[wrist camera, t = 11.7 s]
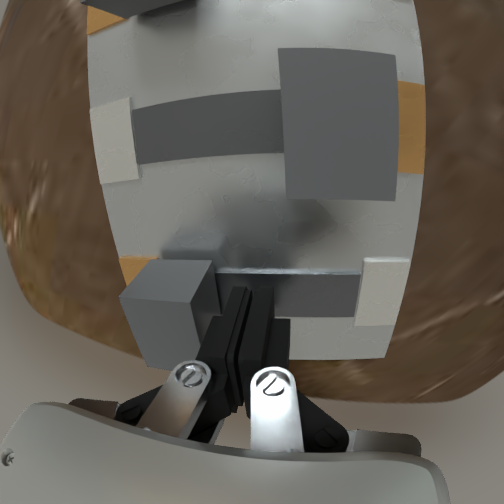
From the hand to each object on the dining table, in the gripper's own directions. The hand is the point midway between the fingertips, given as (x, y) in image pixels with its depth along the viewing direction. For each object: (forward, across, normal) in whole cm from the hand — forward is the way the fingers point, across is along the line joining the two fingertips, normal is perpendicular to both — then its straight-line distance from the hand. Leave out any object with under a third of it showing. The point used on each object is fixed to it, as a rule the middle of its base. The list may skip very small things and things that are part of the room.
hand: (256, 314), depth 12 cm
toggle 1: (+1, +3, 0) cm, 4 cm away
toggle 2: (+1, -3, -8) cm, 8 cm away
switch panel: (+4, 0, -8) cm, 8 cm away
